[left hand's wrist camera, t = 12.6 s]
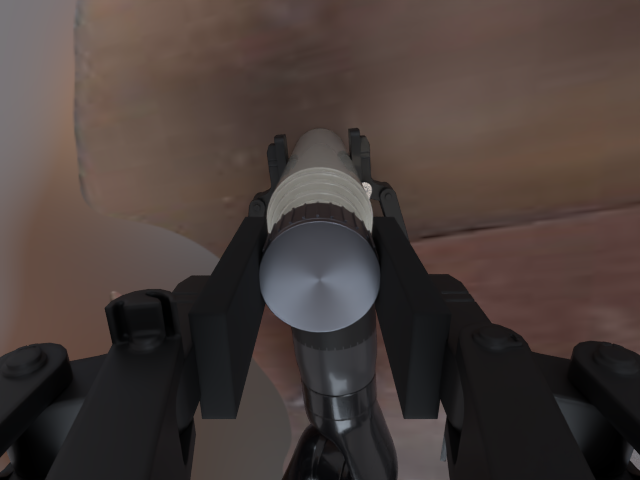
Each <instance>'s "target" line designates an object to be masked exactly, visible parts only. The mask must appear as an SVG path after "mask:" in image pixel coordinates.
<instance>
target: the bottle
mask: <svg viewBox="0 0 640 480" xmlns="http://www.w3.org/2000/svg"><path fill="white" fill-rule="evenodd" d="M317 201H319V203H330V202H331V203H332V204H334V205H338V206H340V207H342V206H344V208H345V209H347V210H349V211H350V212H354V213H355V215H356V216H357V217H358V218H359V219H360V220H361V221H362V220H363V221H364V224H365V227H366V228H367V230H370V232H372V225H373V211H372V206H371V202H370V200H369V197H368V195H367V193H366V191H365V189H364V186H363V184H362V182H361V180H360V178H359V176H358V173H357V171H356V169H355V167H354V165H353V163H352V160H351V158H350V156H349V154H348V152H347V150H346V147H345V145H344V143H343V141H342V140H341V138H340V137H339V136H338V135H337V134H335V133H334V132H332V131H330V130H327V129H322V128H317V129H313V130H310V131H308V132H306V133H304V134H303V135H302V136H301V137H300V138H299V140H298V141H297V143H296V145H295V147H294V149H293V151H292V154H291V156H290V158H289V160H288V162H287V164H286V166H285V169H284V171H283V173H282V175H281V177H280V179H279V182H278V184H277V186H276V188H275V190H274V192H273V194H272V197H271V199H270V202H269V204H268V209H267V227H268V233H271V231H272V228H273V225H274V223H277V222H278V221H279V220H280V219H281V217H282V215H283V214H284V215H285V214H286V213H288V212H289V211H291V210H292V208H293V207H294V208H297V207H299V206H302V205H304V203H306V204H310V203H317Z"/></svg>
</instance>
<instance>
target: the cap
mask: <svg viewBox="0 0 640 480" xmlns="http://www.w3.org/2000/svg"><path fill="white" fill-rule="evenodd" d="M262 252H263V256H262V258H261V261H260V265H259V280H260V292H261V294H262V297H263V299H264V301H265V303H266V305H267V306H268V307H269V309H270V310H271V311H272V312H273V313H274V314H275V315H276V316H277V317H278V318H279V319H281V320H282V321H284V322H285V323H287V324H288V325H291V326H293V327H295V328H298V329H301V330H305V331H310V332H329V331H335V330H339V329H342V328H344V327H347V326H349V325H351V324H353V323H354V322H356V321H357V320H359V319H360V318H361V317H363V316H364V315H365V314H366V313H367V312H368V310H369V309H370V308H371V307H372V305H373V304H374V302H375V300H376V298H377V296H378V293H379V290H380V276H381V267H380V263H379V257H378V254H377V251H376V246H375V244H374V241H373V238H372V235H371V232H370V230H367V228H366V227H365V224H364V221H363V220H362V221H361V220H360V219H359V218H358V217H357V216H356V215H355V213H354V212H350V211H349V210H347V209H345V208H344V206H342V207H340V206H338V205H334V204H332V203H331V202H330V203H319V201H317V203H310V204H306V203H304V205H302V206H299V207H297V208H294V207H293V208H292V210H291V211H289V212H288V213H286V214H285V215H284V214H283V215H282V217H281V219H280V220H279V221H278V222H277V223H274V225H273V228H272V231H271V233H269V234H268V236H267V239H266V242H265V244H264V247H263V250H262Z"/></svg>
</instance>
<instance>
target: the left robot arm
mask: <svg viewBox="0 0 640 480" xmlns="http://www.w3.org/2000/svg"><path fill="white" fill-rule="evenodd" d="M267 236H268V232H267V217H245V219H244V220H243V222H242V224H241V225H240V227H239V229H238V230H237V232H236V234H235V235H234V237H233V239H232V240H231V242H230V244H229V246H228V247H227V249H226V251H225V252H224V254H223V256H222V257H221V259H220V261H219V262H218V264H217V266H216V267H215V269H214V271H213V272H212V274H211V276H190V277H189V278H187V279H185V280H184V281H182V282H180V283H179V284H178V285H177V286H176V288H175V289H174V291H173V292H172V293H171V292H170V291H166V290H162V289H146V290H140V291H134V292H131V293H128V294H125V295H122V296H120V297H118V298H117V299H115V300H113V301H111V302H110V303H109V304H108V305H107V306H106V307H105V312H106V317H107V321H108V326H109V330H110V335H111V339H112V346H111V348H110V350H109V352H108V354H104V355H100V356H95V357H90V358H85V359H79V360H74V361H69V357H68V354H67V350H66V349H65V348H64V347H63V346H62V345H60V344H54V343H42V344H32V345H29V346H24V347H20V348H18V349H16V350H14V351H12V352H10V353H7V354H5V355H3V356H2V357H0V457H1V456H2V455H3V454H4V453H5V452H6V451H7V454H8V456H9V459H10V461H11V462H10V463H9V464H8V465H7V467H6V468H5V469H4V470H3V471H1V472H0V480H190V477H191V469H192V461H193V453H194V445H195V437H196V432H195V425H194V418H193V416H194V413H195V411H196V408H197V406H198V403H199V401H200V406H201V413H202V419H236V416H237V412H238V408H239V405H240V401H241V397H242V392H243V389H244V385H245V381H246V377H247V373H248V369H249V366H250V362H251V358H252V354H253V350H254V346H255V342H256V338H257V334H258V331H259V327H260V323H261V319H262V315H263V311H264V307H265V301H264V299H263V297H262V294H261V292H260V280H259V265H260V261H261V258H262V256H263V252H262V250H263V247H264V244H265V242H266V239H267ZM372 238H373V241H374V244H375V246H376V251H377V254H378V257H379V263H380V267H381V276H380V290H379V293H378V296H377V298H376V300H375V302H374V304H375V308H376V312H377V316H378V320H379V324H380V328H381V331H382V335H383V339H384V343H385V347H386V351H387V355H388V359H389V363H390V367H391V370H392V374H393V378H394V382H395V386H396V390H397V394H398V398H399V402H400V406H401V409H402V413H403V417H404V419H438V411H439V404H440V399H441V402H442V405H443V407H444V410H445V412H446V415H447V418H446V425H445V432H444V439H443V445H442V452H441V459H440V461H446V457H447V460H448V468H449V476H450V480H640V470H638V469H637V468H636V467H635V466H634V464H633V463H632V462H631V461H630V458H631V455H632V453H633V450H634V449H635V450H636V451H637V452H638V453H639V454H640V355H639V354H637V353H635V352H633V351H630V350H628V349H626V348H624V347H622V346H620V345H616V344H611V343H608V342H597V341H587V342H581V343H579V344H577V345H576V346H575V347H574V349H573V352H572V356H571V360H570V359H565V358H560V357H554V356H549V355H544V354H539V353H535V352H531V350H530V348H529V346H528V344H527V342H526V341H525V340H524V339H523V338H522V336H520V335H519V334H517V333H516V332H514V331H513V330H511V329H508V328H506V327H503V326H501V325H497V324H492V323H491V322H490V320H489V319H488V317H487V316H486V315H485V313H484V312H483V311H482V309H481V308H480V307H479V305H478V304H477V303H476V302H474V299H473V297H472V296H471V295H470V294H469V293H468V291H467V289H466V288H465V287H464V285H463V284H462V282H460V281H458V280H457V279H455V278H453V277H452V276H450V275H449V274H428V273H427V271H426V270H425V268H424V266H423V265H422V263H421V261H420V259H419V258H418V256H417V254H416V253H415V251H414V249H413V248H412V246H411V244H410V243H409V241H408V239H407V238H406V236H405V234H404V233H403V231H402V229H401V227H400V226H399V224H398V222H397V221H396V219H395V217H373V227H372Z"/></svg>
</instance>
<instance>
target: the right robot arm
mask: <svg viewBox="0 0 640 480" xmlns="http://www.w3.org/2000/svg"><path fill="white" fill-rule="evenodd" d="M348 135H349V151H350V158H351V160H352V163H353V165H354V167H355V169H356V171H357V173H358V176H359V178H360V180H361V182H362V184H363V186H364V189H365V191H366V193H367V195H368V197H369V200H370V199H374V200H378V201H379V202H380V205H381V209H382V212H383V215H384V217H395V219H396V221H397V222H398V224H399V226H400V227H401V229H402V231H403V233H404V234H405V236H406V238H407V239H408V241H409V238H408V235H407V231H406V228H405V224H404V221H403V217H402V214H401V210H400V207H399V203H398V200H397V196H396V193H395V191H394V190H393V189H392V187H391V186H390V185H389V184H388V183H387V182H379V181H375V180H373V179H372V178H371V168H370V145H369V142H368V140H367V138H366V136H365V135H362V136H360V132H359V129H358V128H351V129H348ZM267 157H268V165H269V172H270V179H271V188H270V189H269V190H267V191H265V192H260V193H257V194H256V195H255V197H254V199H253V200H252V202H251V203H250V206H249V215H248V217H267V209H268V204H269V202H270V199H271V197H272V194H273V192H274V190H275V188H276V186H277V184H278V182H279V179H280V177H281V175H282V173H283V171H284V169H285V166H286V164H287V162H288V160H289V158H288V149H287V141H286V135H285V134H283V135H276V136H275V137H274V143H273V144H270V145H269V147H268V151H267ZM409 243H410V242H409ZM291 328H292V335H293V343H294V350H295V356H296V360H297V364H298V367H299V370H300V374H301V382H302V389H303V396H304V404H305V410H306V414H307V416H308V419H309V421H310V423H311V424H310V425H309V426H308V427H307V428H306V429H305V430H304V432H303V433H302V435H301V437H300V439H299V442H298V444H297V446H296V449H295V451H294V454H293V456H292V459H291V461H290V463H289V465H288V468H287V470H286V472H285V474H284V476H283V478H282V480H397V478H398V461H397V455H396V450H395V446H394V443H393V440H392V437H391V435H390V432H389V429H388V427H387V424H386V422H385V419H384V416H383V414H382V411H381V409H380V406H379V404H378V402H377V392H376V372H375V364H376V356H377V335H376V312H375V304H373V305H372V307H371V308H370V309H369V310H368V312H367V313H366V314H365V315H364V316H363V317H361V318H360V319H359V320H357V321H356V322H354V323H353V324H351V325H349V326H347V327H344V328H342V329H339V330H335V331H329V332H310V331H305V330H301V329H298V328H295V327H293V326H291Z"/></svg>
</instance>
